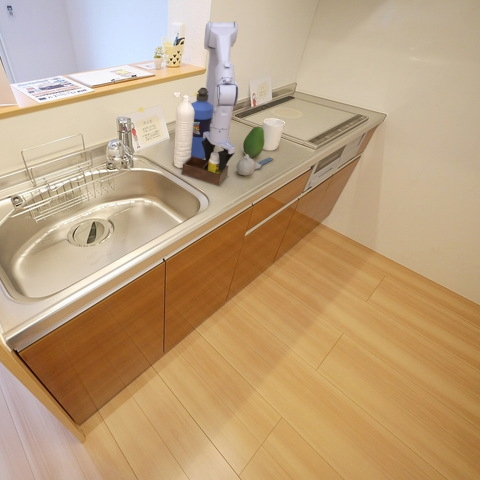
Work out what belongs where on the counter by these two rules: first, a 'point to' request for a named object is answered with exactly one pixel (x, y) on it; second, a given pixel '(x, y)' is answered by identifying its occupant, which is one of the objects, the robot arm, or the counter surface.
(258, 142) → the fruit
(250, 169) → the figurine
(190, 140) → the water bottle
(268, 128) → the mug
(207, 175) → the crate
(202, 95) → the water bottle
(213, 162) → the supplement bottle
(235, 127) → the counter surface
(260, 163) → the wristwatch
